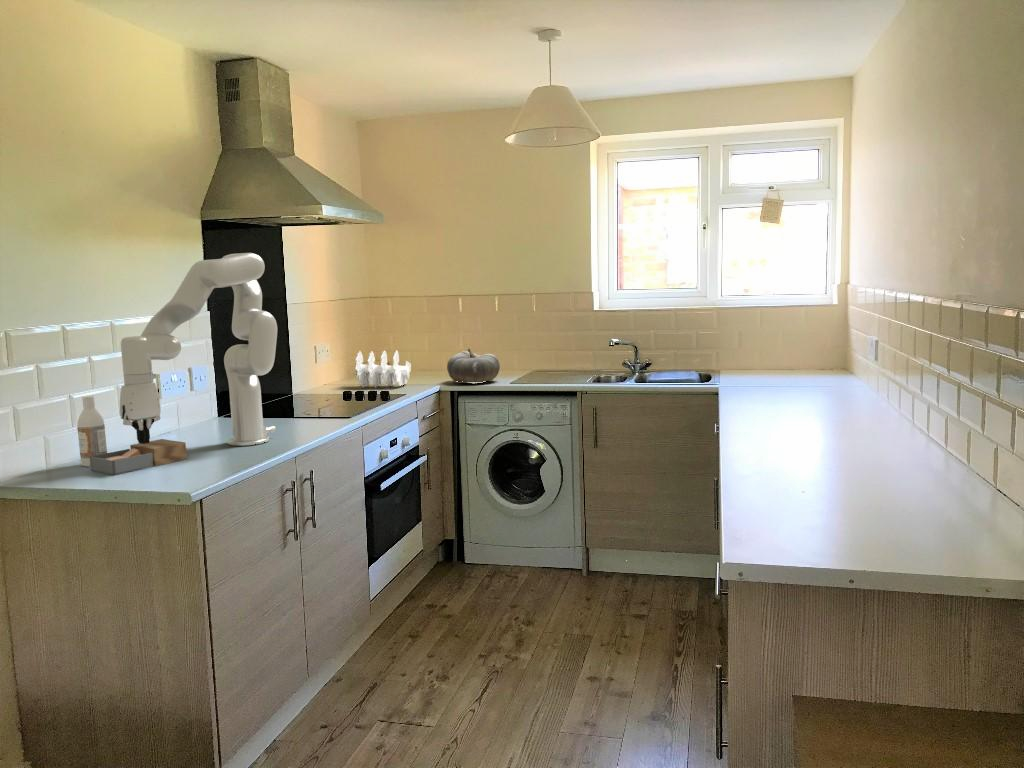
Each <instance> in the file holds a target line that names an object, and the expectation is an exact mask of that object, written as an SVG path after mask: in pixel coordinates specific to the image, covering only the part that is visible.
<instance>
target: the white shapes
mask: <svg viewBox="0 0 1024 768" xmlns="http://www.w3.org/2000/svg"><path fill="white" fill-rule="evenodd" d="M363 356H364V355H363V353H362V351H361V350H359V352H356V358H355V360H354V361H355V368H354V369H355V371H356V380H358V383H359V384H361V386H362V388H367V387H368V386H369V385H370V384H371V385H373V386H374V389H377V387H378V386H380V387H381V386H382V384H383V383H384V382H385V385H386V387H387V386H388V387H390V385H391V386H393V385H394V384H396V383H397V384H398V387H399V386H401V385H404V384H406V385H407V384H408V381H409V379H410V376H411V375H410V374H411V372H412V371H411V370H412V363H411V362H409V361H408V360H405V365H399V363H400V354H399V351H398V350H397V349H395V352H394V351H393V356H392V357H393V358H392V365H388V354H387V351H386V350H382V351H381V356H380V364H375V362H376V358H375V353H374V351H373V350H371V351H370V353H368V359H367V364H363V362H364V357H363ZM404 386H405V385H404ZM401 387H402V386H401Z"/></svg>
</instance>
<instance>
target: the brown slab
mask: <svg viewBox="0 0 1024 768" xmlns="http://www.w3.org/2000/svg"><path fill="white" fill-rule="evenodd" d="M149 441H150V442H149V443H146V444H142V443H134V444H130V445H129V446H130V448H129V449H130V450H131V449H133V448H134V449H137V450H139V452H140V453H141V455H142V454H147V453H152V454H153V465H154V467H159V466H163V465H167V464H171V463H172V464H173V463H176V462H180V461H184V460H187V459H188V456H187V447H186V446H187V445H186V442H183V441H177V440H172V439H164V438H160V439H154V440H149Z"/></svg>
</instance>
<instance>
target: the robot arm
mask: <svg viewBox="0 0 1024 768" xmlns="http://www.w3.org/2000/svg"><path fill="white" fill-rule="evenodd" d="M265 267H266V266H265V261H264V259H263V258H262V257H261V256H260V255H259V254H256V253H253V252H241V253H230V254H227V255H223V256H222V258H216V259H215V258H213V259H203V260H198V261H196V262H195V263H194V264H193V265H192V266H191V267H190V269H189V271H188V272H187V273H186V274H185V277H184V278H183V280H182V281H181V283H180V285H179V286H178V289H177V290H176V291H175V293H174V295H173V296H172V297H171V299H170V300H169V301H168V302H167V303H166V304H164V306H162V308H161V309H160V310H159V311H157V312H156V314H154V315H153V317H152V318H151V319H150V320H149V321H148V323H147V324H146V326H145V328H144V329H143V331H142V332H141V335H140V336H139V335H138V336H136V335H135V336H126V337H123V338H121V340H120V351H121V361H122V364H121V365H122V373H123V384H124V385H121V387H120V393H119V395H120V396H119V415H120V416H119V417H120V419H121V420H123V421H122V424H123V425H124V426H131V427H133V429H134V430H135V431H136V440H137V442H138V443H142V444H146V443H149V442H150V441H151V440H150V439H151V435H150V429H151V428H152V426H153V424H154V423H155V422H158V421H160V420H161V412H162V411H161V402H160V397H159V392H158V389H157V386H156V385H157V384H156V383H155V382H154V379H157V374H156V373H154V372H153V366H152V365H153V364H152V361H155V360H156V361H157V360H158V361H159V360H160V361H169V360H174V359H175V358H176V357H178V356H179V355H180V353H181V350H182V345H181V341H180V340H179V339H178V338H177V337H176V336H174V335H172V333H173V332H174V331H176V329H177V328H178V327H179V326H181V325H182V324H185V323H186V322H188V321H190V320H192V319H193V318H195V317H196V316H198V315H199V314H200V312H201V311H202V309H203V307H204V306H205V304H206V302H207V300H208V299H209V297H210V295H211V294H212V292H213V290H214V289H217V288H219V289H220V288H228V287H231V288H232V290H233V296H234V297H233V309H232V310H233V311H232V320H231V321H232V322H231V331H232V332H231V333H232V334H233V336H234V337H235V338H237V339H239V340H243V341H248V344H244V343H243V344H242V343H241V344H235V345H232V346H230V347H229V348H228V349H227V350H226V352H225V354H224V357H223V363H224V369H225V372H226V377H227V382H228V389H229V390H228V391H229V405H230V416H231V417H230V418H231V428H232V430H231V432H232V437H231V438H230V439H228V440H227V443H228V445H230V446H235V447H236V446H237V447H240V446H241V447H245V446H255V444H256V445H261V444H265V443H267V442H269V441H270V436H269V435H268V434H270V433H271V434H272V433H274V432H276V431H277V428H276V426H274V425H272V426H269V427H267V426H266V425H264V419H263V418H264V417H263V406H262V405H263V404H262V389H261V388H262V387H261V383H260V379H259V377H258V376H264V375H266V374H269V372H271V370H272V368H273V367H274V364H275V358H276V350H277V340H278V339H277V338H278V323H277V320H276V318H275V317H274V315H272V314H271V312H268V311H266V310H263V308H262V307H263V292H262V288H261V286H260V284H259V281H258V279H260V278H261V277H262V276H263V274H264V273H265ZM264 442H265V443H264ZM138 443H137V444H138Z"/></svg>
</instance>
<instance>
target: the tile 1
mask: <svg viewBox="0 0 1024 768" xmlns="http://www.w3.org/2000/svg"><path fill="white" fill-rule="evenodd" d="M138 455H141V453H140V452H139V450H137V449H134V448H133V449H131V448H130V450H129V451H128V452H126V453H125V454H123V455H122V457H126V458H128V457H133V456H138Z"/></svg>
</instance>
